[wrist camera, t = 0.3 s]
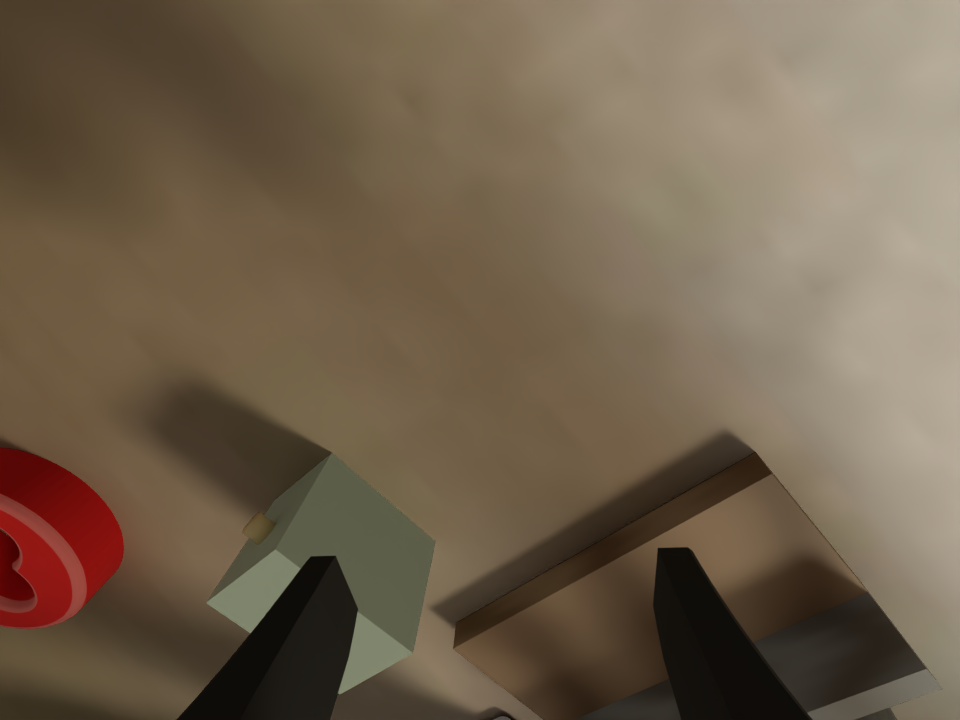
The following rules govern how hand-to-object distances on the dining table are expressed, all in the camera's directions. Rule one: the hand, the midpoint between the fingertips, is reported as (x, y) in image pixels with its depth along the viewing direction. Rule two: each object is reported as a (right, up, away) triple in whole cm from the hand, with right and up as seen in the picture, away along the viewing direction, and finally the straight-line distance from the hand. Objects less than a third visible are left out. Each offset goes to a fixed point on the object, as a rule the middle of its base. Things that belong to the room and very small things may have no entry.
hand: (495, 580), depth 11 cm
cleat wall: (+9, -8, +15) cm, 19 cm away
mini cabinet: (-7, -3, +14) cm, 15 cm away
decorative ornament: (-24, -4, +16) cm, 29 cm away
